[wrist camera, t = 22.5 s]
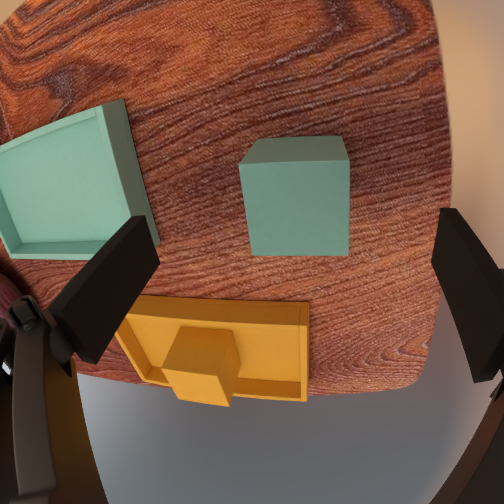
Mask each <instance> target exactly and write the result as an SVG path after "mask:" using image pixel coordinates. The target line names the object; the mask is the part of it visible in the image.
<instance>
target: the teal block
mask: <svg viewBox="0 0 504 504" xmlns="http://www.w3.org/2000/svg"><path fill="white" fill-rule="evenodd" d="M239 172H240V179H241V185H242V192H243V198H244V205H245V211H246V218H247V225H248V231H249V238H250V244H251V251H252V255H253V256H347V255H348V252H349V226H350V160H349V157H348V154H347V151H346V148H345V145H344V142H343V139H342V136H302V137H281V138H265V139H257V140H256V142H255V143H254V144H253V146H252V147H251V148H250V150H249V151H248V152H247V154H246V155H245V156H244V158H243V159H242V161H241V162H240V163H239Z"/></svg>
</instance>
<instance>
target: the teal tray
mask: <svg viewBox="0 0 504 504" xmlns="http://www.w3.org/2000/svg"><path fill="white" fill-rule="evenodd" d="M138 215H145V216H146V220H147V223H148V226H149V230H150V233H151V236H152V239H153V242H154V246H155V248H156V247H157V245H158V244H159V243H160V238H159V235H158V231H157V228H156V225H155V221H154V218H153V215H152V211H151V208H150V204H149V201H148V197H147V193H146V190H145V186H144V182H143V178H142V175H141V171H140V167H139V163H138V159H137V155H136V151H135V147H134V143H133V138H132V134H131V130H130V125H129V121H128V116H127V112H126V107H125V102H124V99H123V98H122V99H118V100H115V101H112V102H109V103H105V104H102V105H99V106H96V107H93V108H90V109H87V110H84V111H81V112H78V113H76V114H73V115H70V116H68V117H65V118H62V119H60V120H57V121H55V122H52V123H50V124H47V125H45V126H42V127H40V128H38V129H35V130H33V131H31V132H28V133H26V134H24V135H22V136H20V137H17V138H15V139H13V140H11V141H9V142H7V143H5V144H3V145H1V146H0V237H1V239H2V241H3V243H4V246H5V248H6V250H7V252H8V254H9V256H10V258H16V259H62V260H90V259H91V258H92V257H93V256H94V255H95V254H96V253H97V252H98V250H99V249H100V248H101V247H102V246H103V245H104V244H105V243H106V242H107V241H108V240H109V239H110V238H111V237H112V236H113V235H114V234H115V233H116V232H117V231H118V229H119V228H120V227H121V226H122V225H123V224H124V223H125V222H126V221H127V220H128V219H129V218H130V217H131V216H138Z"/></svg>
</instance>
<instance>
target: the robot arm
mask: <svg viewBox="0 0 504 504" xmlns="http://www.w3.org/2000/svg"><path fill="white" fill-rule="evenodd" d="M431 264H432V266H433V269H434V271H435V273H436V276H437V278H438V280H439V283H440V285H441V287H442V290H443V292H444V295H445V297H446V300H447V302H448V305H449V308H450V310H451V313H452V316H453V318H454V321H455V324H456V327H457V330H458V333H459V335H460V338H461V341H462V345H463V348H464V351H465V353H466V357H467V360H468V364H469V367H470V371H471V374H472V378H473V381H474V383H478V382H484V381H490V380H493V378H494V377H495V375H496V374H497V372H498V371H499V369H500V370H501V373H502V376H503V378H502V380H501V382H500V383H499V384H498V386H497V387H496V388H495V390H494V391H493V392H492V394H491V395H490V397H491V398H492V397H493V398H492V400H491V402H490V405H489V407H488V409H487V411H486V413H485V415H484V417H483V419H482V421H481V423H480V425H479V427H478V429H477V430H476V432H475V434H474V436H473V438H472V440H471V441H470V443H469V445H468V446H467V448H466V450H465V452H464V453H463V455H462V457H461V458H460V460H459V462H458V463H457V465H456V466H455V468H454V469H453V471H452V472H451V474H450V475H449V477H448V478H447V480H446V481H445V483H444V484H443V486H442V487H441V489H440V490H439V491H438V493H437V494H436V495H435V497H434V498H433V499H432V501H431V502H430V503H429V504H504V269H499V268H498V267H497V265H496V264H495V262H494V261H493V259H492V258H491V256H490V255H489V253H488V252H487V250H486V249H485V248H484V246H483V245H482V243H481V241H480V240H479V239H478V237H477V236H476V235H475V233H474V232H473V231H472V229H471V228H470V226H469V225H468V224H467V222H466V221H465V220H464V219H463V217H462V216H461V214H460V213H459V212H458V210H457V209H456V208H441V209H440V215H439V222H438V228H437V233H436V239H435V244H434V249H433V254H432V259H431ZM159 265H160V261H159V258H158V255H157V252H156V249H155V246H154V242H153V239H152V236H151V233H150V230H149V226H148V223H147V220H146V216H145V215H138V216H131V217H130V218H129V219H128V220H127V221H126V222H125V223H124V224H123V225H122V226H121V227H120V228H119V229H118V231H117V232H116V233H115V234H114V235H113V236H112V237H111V238H110V239H109V240H108V241H107V242H106V243H105V244H104V245H103V246H102V247H101V248H100V249H99V250H98V252H97V253H96V254H95V255H94V256H93V257H92V258H91V259H90V260H89V261H88V262H87V264H86V265H85V266H84V267H83V268H82V269H81V270H80V271H79V273H77V274H76V275H75V276H73V277H72V279H71V280H70V281H69V282H68V283H67V284H66V285H67V286H65V287H64V288H63V289H62V290H61V292H60V293H59V294H58V295H57V296H56V297H55V298H54V300H53V301H52V302H51V303H50V305H49V306H48V307H47V308H46V309H45V311H44V312H43V313H42V312H41V310H40V308H39V307H38V305H37V303H36V302H35V300H34V298H33V297H32V296H31V295H25V296H22V297H20V298H18V299H16V300H15V301H14V302H13V303H12V304H11V305H10V306H9V308H8V310H7V312H6V313H7V314H8V316H9V317H10V319H11V321H12V322H13V324H14V325H15V327H11V325H10V324H9V322H8V321H7V319H5V318H0V504H109V503H108V501H107V498H106V495H105V492H104V489H103V486H102V483H101V480H100V476H99V473H98V470H97V467H96V463H95V459H94V456H93V452H92V448H91V445H90V440H89V437H88V432H87V427H86V423H85V418H84V413H83V408H82V403H81V398H80V392H79V386H78V380H77V373H76V366H75V362H74V360H73V358H72V357H71V356H72V355H73V353H74V352H76V353H77V355H78V356H79V358H80V359H81V360H82V361H83V362H87V363H91V364H95V365H96V364H97V363H98V361H99V359H100V358H101V356H102V354H103V353H104V351H105V349H106V348H107V346H108V344H109V343H110V341H111V339H112V338H113V336H114V334H115V333H116V331H117V329H118V328H119V326H120V325H121V323H122V321H123V320H124V318H125V317H126V315H127V313H128V312H129V310H130V309H131V307H132V306H133V304H134V303H135V301H136V299H137V298H138V296H139V295H140V293H141V292H142V290H143V289H144V287H145V286H146V284H147V283H148V281H149V280H150V278H151V277H152V275H153V274H154V272H155V271H156V269H157V268H158V266H159ZM3 362H4V363H5V364H6V365H7V366H8V367H9V369H11V372H10V374H9V375H8V374H7V373H6V372H5V371H4V369H3V368H2V365H3Z"/></svg>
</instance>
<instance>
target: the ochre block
mask: <svg viewBox="0 0 504 504" xmlns="http://www.w3.org/2000/svg"><path fill="white" fill-rule="evenodd" d="M240 367H241V362H240V358H239V354H238V351H237V347H236V343H235V340H234V336H233V332H232V330H221V329H206V328H193V327H182V326H181V327H180V328H179V330H178V332H177V335H176V337H175V339H174V341H173V343H172V345H171V347H170V350H169V352H168V354H167V356H166V358H165V360H164V363H163V365H162V367H161V370H162V371H163V373H164V375H165V377H166V378H167V380H168V382H169V383H170V385H171V387H172V388H173V390H174V392H175V393H176V395H177V396H178V398H179V399H182V400H188V401H194V402H200V403H206V404H213V405H220V406H228V407H229V406H230V403H231V400H232V396H233V392H234V389H235V385H236V381H237V378H238V374H239V370H240Z"/></svg>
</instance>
